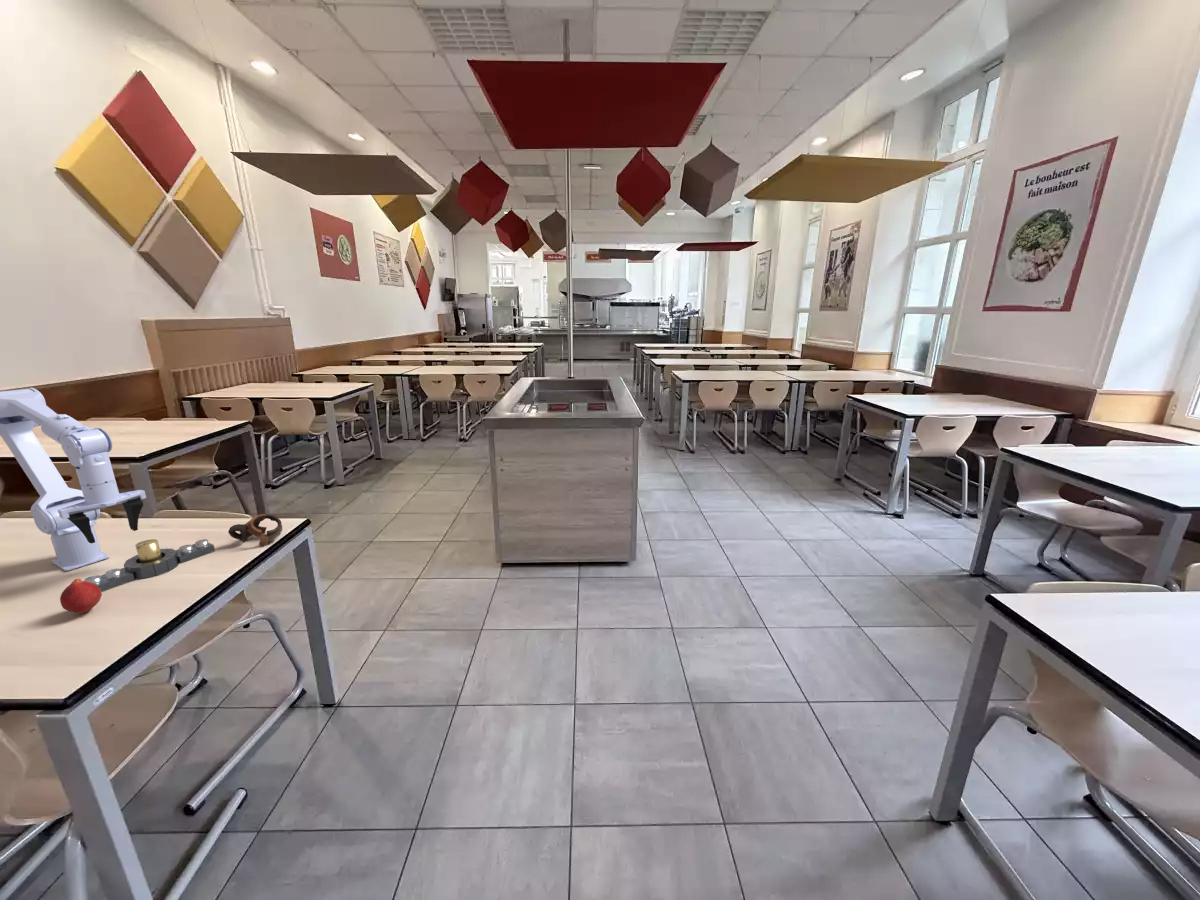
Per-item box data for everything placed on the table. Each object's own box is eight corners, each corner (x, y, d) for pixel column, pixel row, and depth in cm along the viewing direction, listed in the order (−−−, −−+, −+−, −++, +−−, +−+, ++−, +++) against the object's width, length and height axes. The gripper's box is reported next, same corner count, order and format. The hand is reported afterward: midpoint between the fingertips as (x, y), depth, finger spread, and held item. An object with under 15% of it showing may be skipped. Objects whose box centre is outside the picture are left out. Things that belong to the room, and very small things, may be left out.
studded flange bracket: (78, 586, 111) (74, 575, 110) (201, 544, 131) (199, 534, 131) (95, 598, 107) (91, 586, 106) (219, 553, 127) (217, 542, 126)
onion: (79, 622, 99) (68, 588, 96) (58, 619, 100) (46, 584, 97) (112, 606, 104) (102, 573, 102) (91, 603, 105) (81, 570, 103)
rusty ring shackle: (276, 530, 142) (282, 510, 138) (280, 555, 136) (287, 534, 133) (224, 532, 133) (230, 510, 130) (227, 558, 128) (232, 536, 124)
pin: (140, 570, 119) (132, 544, 117) (161, 563, 122) (154, 537, 120) (145, 574, 117) (138, 548, 115) (167, 567, 120) (160, 541, 118)
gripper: (59, 494, 104) (77, 552, 107) (145, 475, 116) (159, 527, 120) (47, 489, 107) (65, 544, 111) (132, 471, 119) (146, 521, 123)
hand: (113, 535), depth 115 cm, fingers open, 7 cm apart
